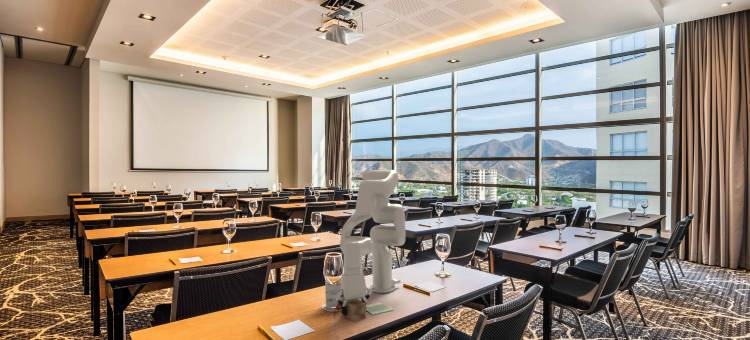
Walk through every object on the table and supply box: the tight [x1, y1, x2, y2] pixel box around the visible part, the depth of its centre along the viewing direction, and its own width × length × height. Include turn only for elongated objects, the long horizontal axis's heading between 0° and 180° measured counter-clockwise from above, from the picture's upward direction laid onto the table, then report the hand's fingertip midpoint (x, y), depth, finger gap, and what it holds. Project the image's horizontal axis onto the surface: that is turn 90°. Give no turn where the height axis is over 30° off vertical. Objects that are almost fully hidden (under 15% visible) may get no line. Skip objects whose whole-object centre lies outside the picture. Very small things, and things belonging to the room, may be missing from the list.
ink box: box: [324, 279, 342, 309], centre depth 174 cm, size 8×5×12 cm, turn 89°
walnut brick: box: [345, 299, 367, 322], centre depth 163 cm, size 6×9×6 cm, turn 32°
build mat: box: [366, 302, 394, 316], centre depth 170 cm, size 10×10×1 cm
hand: (353, 312), depth 163 cm, fingers open, 8 cm apart
